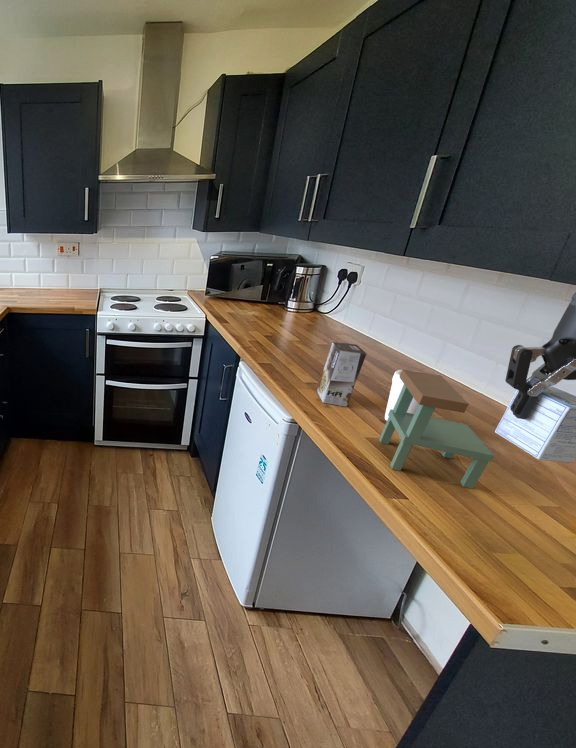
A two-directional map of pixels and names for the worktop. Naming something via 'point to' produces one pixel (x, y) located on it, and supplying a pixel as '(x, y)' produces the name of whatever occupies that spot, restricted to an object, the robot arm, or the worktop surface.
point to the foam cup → (394, 395)
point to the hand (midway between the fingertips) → (546, 421)
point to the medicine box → (544, 427)
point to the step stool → (433, 424)
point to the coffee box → (340, 373)
